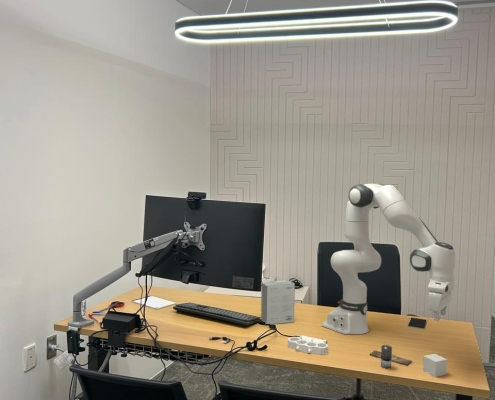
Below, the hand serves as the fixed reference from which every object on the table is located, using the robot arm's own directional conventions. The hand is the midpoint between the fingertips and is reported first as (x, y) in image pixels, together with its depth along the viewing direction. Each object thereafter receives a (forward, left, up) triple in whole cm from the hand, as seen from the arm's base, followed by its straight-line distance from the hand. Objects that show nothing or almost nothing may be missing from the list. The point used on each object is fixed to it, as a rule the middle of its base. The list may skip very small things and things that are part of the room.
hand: (439, 317), depth 190 cm
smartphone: (-24, +44, -20) cm, 54 cm away
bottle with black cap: (-14, -17, -19) cm, 29 cm away
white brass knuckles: (-47, -21, -20) cm, 56 cm away
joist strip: (-16, -8, -19) cm, 26 cm away
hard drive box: (-78, -2, -19) cm, 81 cm away
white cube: (+2, -10, -19) cm, 22 cm away
